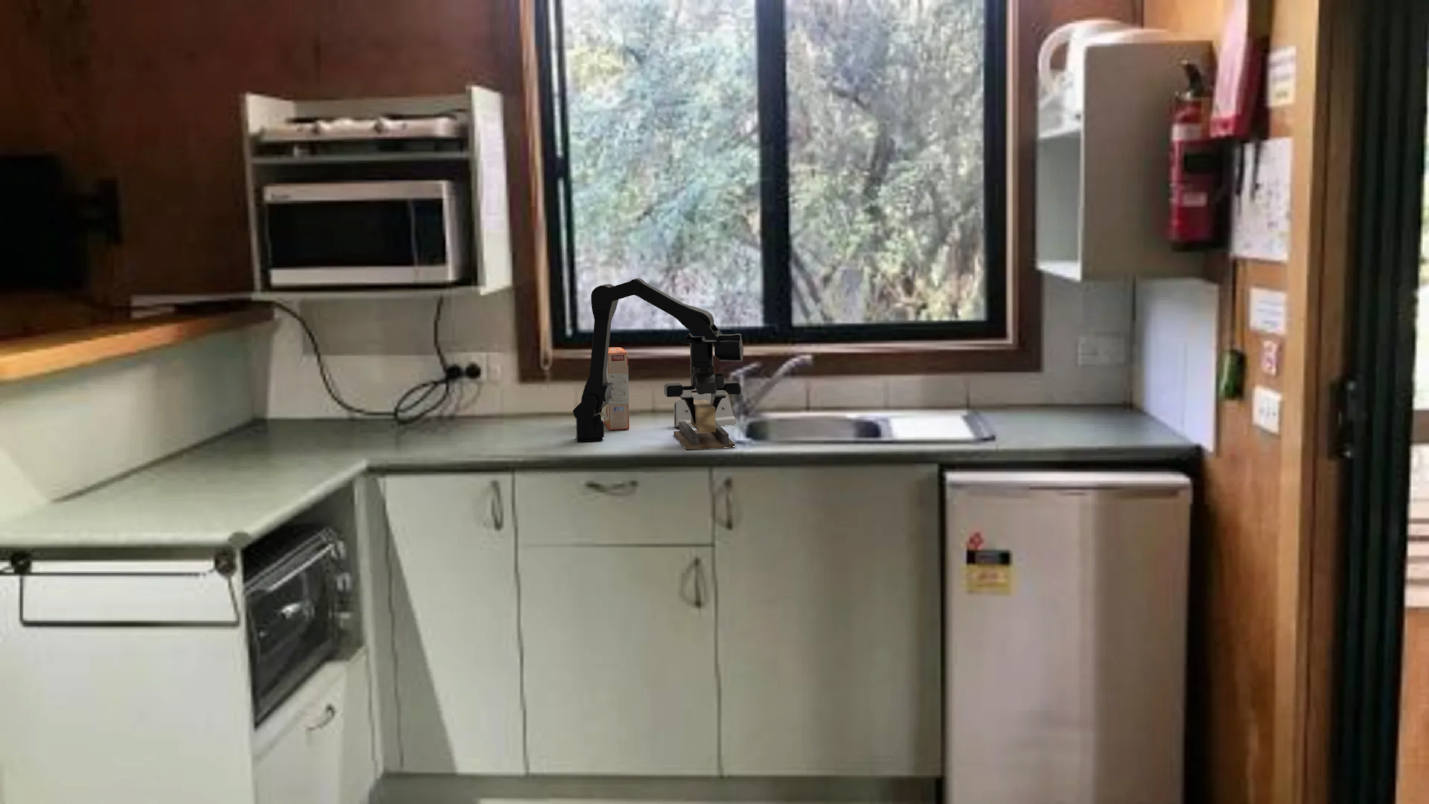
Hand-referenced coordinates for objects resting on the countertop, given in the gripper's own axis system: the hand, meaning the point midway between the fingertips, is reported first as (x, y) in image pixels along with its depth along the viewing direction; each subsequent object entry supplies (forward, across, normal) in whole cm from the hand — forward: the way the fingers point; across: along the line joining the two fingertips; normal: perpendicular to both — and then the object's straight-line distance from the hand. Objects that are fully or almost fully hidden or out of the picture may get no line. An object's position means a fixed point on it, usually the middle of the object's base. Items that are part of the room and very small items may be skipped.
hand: (703, 422), depth 335 cm
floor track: (+5, 0, 0) cm, 5 cm away
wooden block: (+1, 0, 0) cm, 1 cm away
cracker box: (+5, -19, +29) cm, 35 cm away
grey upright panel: (+5, +4, +24) cm, 24 cm away
